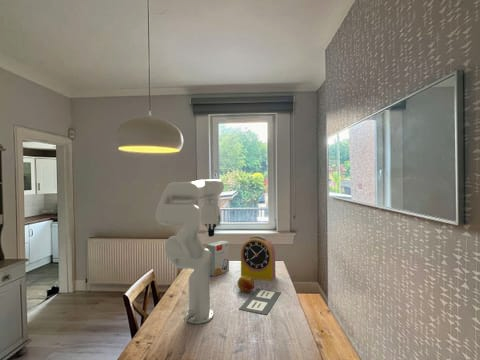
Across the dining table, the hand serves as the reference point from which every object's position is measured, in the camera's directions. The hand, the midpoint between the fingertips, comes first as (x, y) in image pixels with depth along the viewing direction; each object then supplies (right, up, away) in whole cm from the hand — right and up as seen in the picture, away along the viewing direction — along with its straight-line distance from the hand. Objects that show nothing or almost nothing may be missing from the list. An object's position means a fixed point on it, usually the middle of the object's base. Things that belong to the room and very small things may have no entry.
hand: (211, 236), depth 141 cm
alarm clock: (+28, -32, +27) cm, 50 cm away
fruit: (+19, -32, +5) cm, 38 cm away
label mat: (+27, -32, -7) cm, 42 cm away
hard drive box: (+1, -33, +36) cm, 48 cm away
